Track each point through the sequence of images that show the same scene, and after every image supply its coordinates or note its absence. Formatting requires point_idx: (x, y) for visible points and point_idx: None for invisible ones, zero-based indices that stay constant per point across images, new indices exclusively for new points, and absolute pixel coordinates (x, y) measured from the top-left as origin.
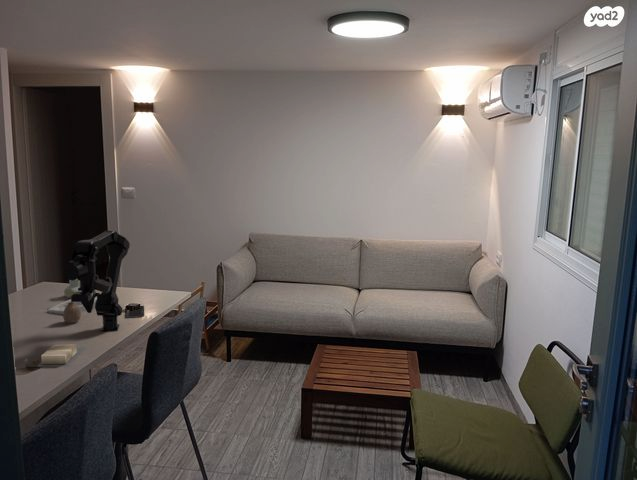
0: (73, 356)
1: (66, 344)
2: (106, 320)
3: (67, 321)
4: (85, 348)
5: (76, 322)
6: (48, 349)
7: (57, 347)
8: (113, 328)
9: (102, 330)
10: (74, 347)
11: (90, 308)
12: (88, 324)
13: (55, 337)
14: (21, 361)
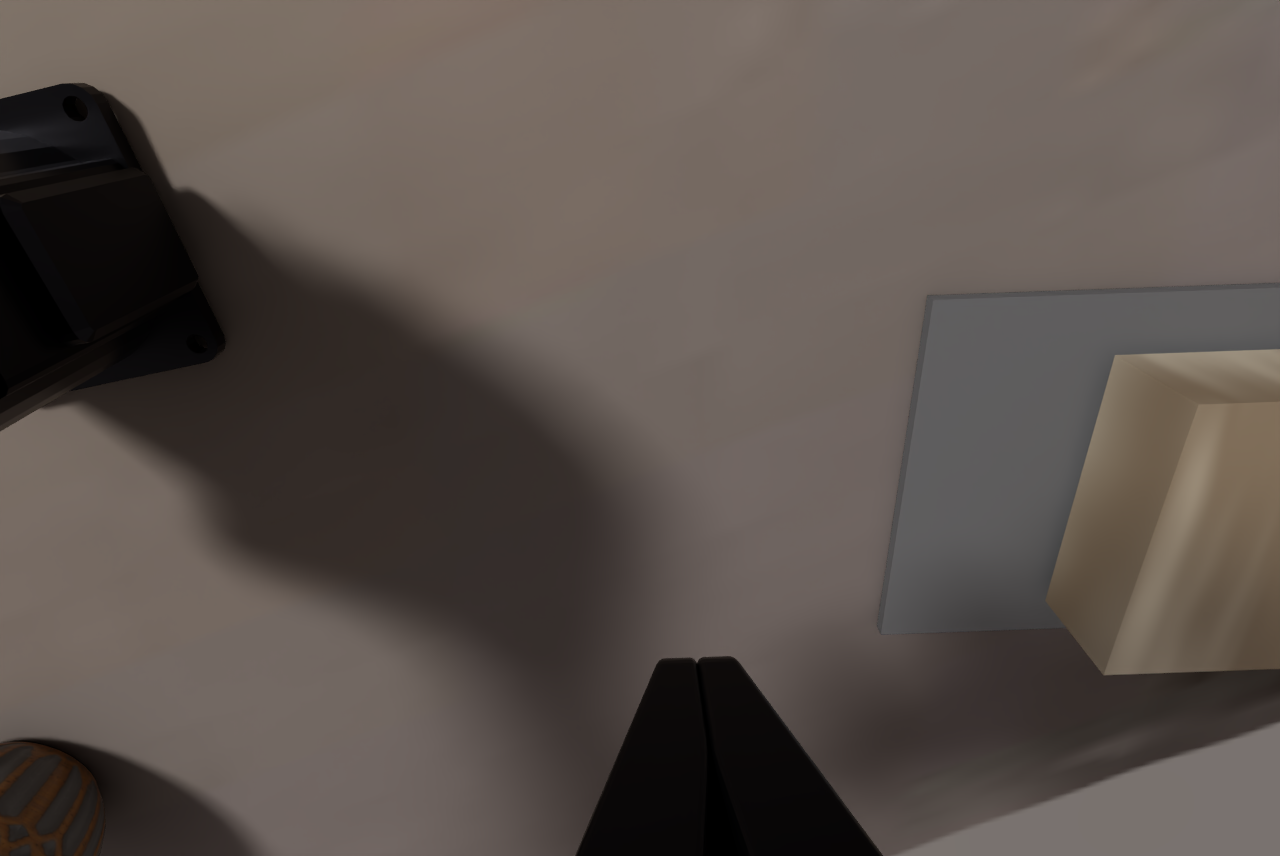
0: (1221, 349)
1: (1156, 539)
2: (58, 321)
3: (104, 826)
4: (950, 304)
5: (32, 743)
6: (1278, 666)
7: (1238, 601)
8: (99, 162)
9: (212, 334)
10: (1276, 394)
11: (836, 807)
12: (26, 607)
13: (527, 751)
14: (1144, 764)
